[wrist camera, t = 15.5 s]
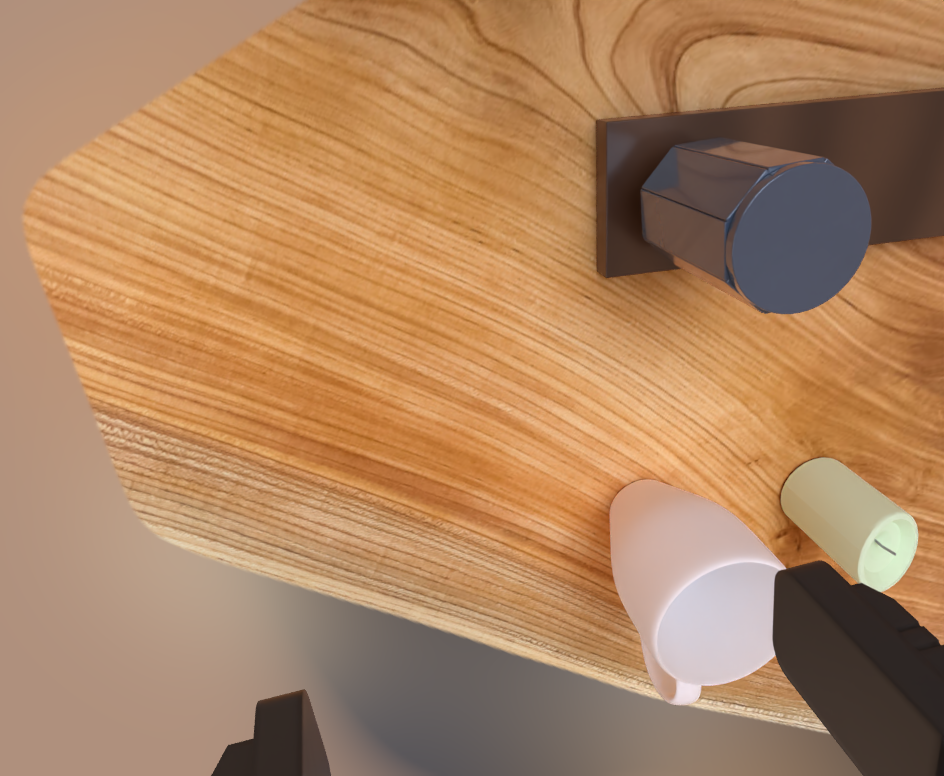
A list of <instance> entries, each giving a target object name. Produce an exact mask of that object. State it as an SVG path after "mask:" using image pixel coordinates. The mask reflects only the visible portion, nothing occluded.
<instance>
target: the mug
mask: <svg viewBox="0 0 944 776" xmlns="http://www.w3.org/2000/svg"><path fill="white" fill-rule="evenodd" d="M609 516H610V546H611V564H612V571H613V577H614V581H615V585H616V588H617V591H618V594H619V597H620V599H621V601H622V603H623V606H624V608H625V609H626V611H627V613H628V615H629V617H630V619H631V620H632V622H633V624H634V626H635V627H636V629H637V631H638V633H639V634H640V638H641V645H642V651H643V656H644V660H645V664H646V668H647V671H648V674H649V676H650V679H651V681H652V683H653V685H654V687H655V688H656V690H657V692H658V693H659V695H660V696H661V697H662V698H663V699H664V700H665V701H667V702H668V703H671V704H675V705H687V704H691V703H694V702H695V701H697V699H698V698H699V696H700V693H701V686H712V685H720V684H725V683H728V682H732V681H735V680H738V679H740V678H742V677H745V676H747V675H749V674H751V673H752V672H754V671H756V670H757V669H759V668H760V667H762V666H763V665H765V664H766V663H767V662H768V661H769V660H771V659H772V658H773V657H774V656H775V651H774V647H773V640H772V634H773V605H774V580H775V575H776V573H777V572H778V571H780V570H784V569H786V567H785V566H784V565H783V564H782V563H781V562H780V561H779V559H778V558H777V557H776V556H775V555H774V554H773V553H772V552H771V551H770V550H769V549H768V548H767V547H766V546H765V545H764V544H763V543H762V541H761V540H760V539H759V538H758V537H757V536H756V535H755V534H754V533H753V532H752V531H751V530H750V529H749V528H748V527H747V526H746V525H745V524H744V523H743V522H742V521H741V520H740V519H739V518H737V517H736V516H735V515H734V514H732V513H731V512H730V511H728V510H727V509H725V508H724V507H722V506H720V505H719V504H717V503H715V502H713V501H711V500H709V499H707V498H704V497H702V496H699V495H697V494H694V493H691V492H688V491H685V490H682V489H679V488H677V487H674V486H671V485H668V484H665V483H662V482H659V481H656V480H650V479H645V480H639V481H636V482H633V483H631V484H629V485H627V486H626V487H624V488H623V489H622V490H621V491H620V492H619V493H618V494H617V495H616V497H615V498H614V500H613V502H612V504H611V507H610V515H609Z"/></svg>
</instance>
